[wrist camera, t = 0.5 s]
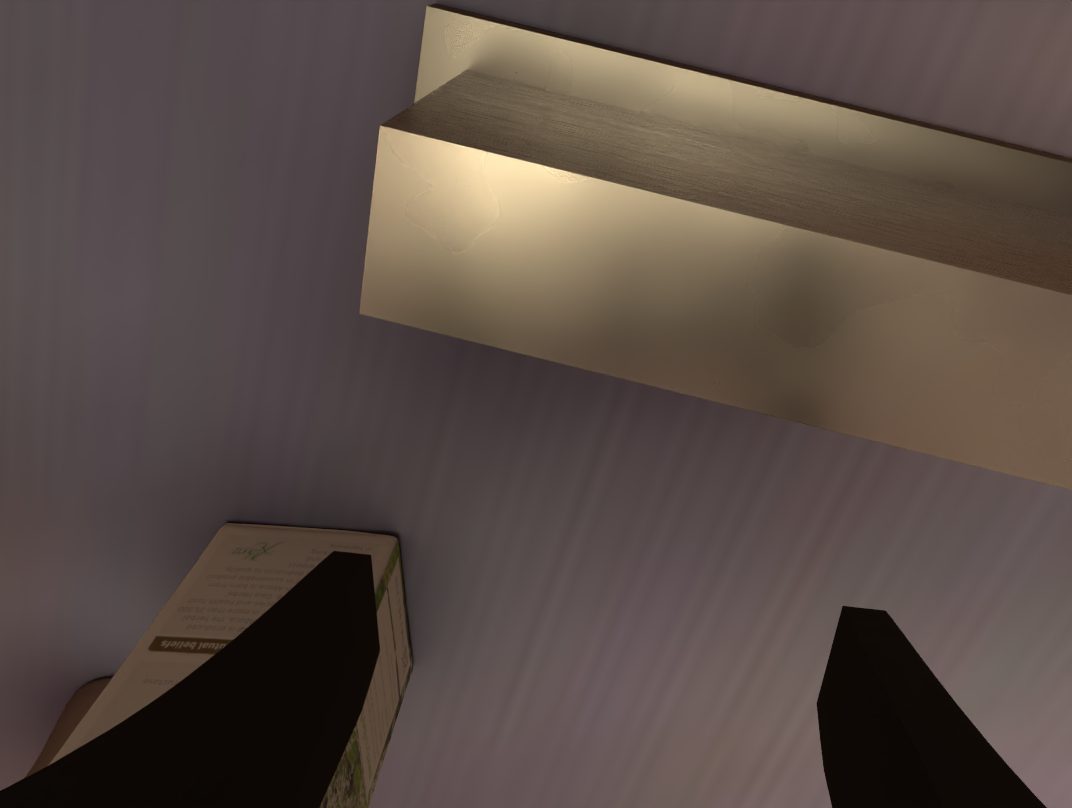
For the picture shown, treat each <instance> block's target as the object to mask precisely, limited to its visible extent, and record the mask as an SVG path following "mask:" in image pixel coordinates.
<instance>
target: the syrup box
mask: <svg viewBox="0 0 1072 808" xmlns="http://www.w3.org/2000/svg"><path fill="white" fill-rule="evenodd" d="M333 551H341V552H350V553H359V554H369V555H371V559H372V569H373V580H374V590H375V601H376V611H377V622H378V632H379V643H380V653H379V656H378V659H377V663H376V666H375V670H374V673H373V677H372V680H371V684H370V687H369V690H368V693H367V696H366V699H365V703H364V706H363V709H362V712H361V714H360V716H359V719H358V721H357V723H356V726H355V728H354V730H353V733H352V735H351V737H350V740H349V742H348V744H347V746H346V749H345V751H344V753H343V756H342V758H341V760H340V762H339V765H338V767H337V769H336V771H335V774H334V776H333V778H332V780H331V783H330V785H329V787H328V789H327V792H326V794H325V796H324V799H323V801H322V803H321V805H320V808H368V807H369V804H370V800H371V797H372V794H373V791H374V788H375V786H376V782H377V779H378V776H379V772H380V769H381V766H382V763H383V760H384V757H385V754H386V751H387V748H388V744H389V741H390V739H391V735H392V732H393V728H394V725H395V722H396V719H397V716H398V713H399V710H400V707H401V704H402V701H403V697H404V694H405V691H406V688H407V685H408V682H409V679H410V675H411V673H412V670H413V664H412V656H411V647H410V639H409V629H408V622H407V613H406V605H405V595H404V587H403V577H402V568H401V556H400V548H399V542H398V539H397V538H396V537H394V536H390V535H382V534H372V533H364V532H355V531H344V530H331V529H317V528H301V527H287V526H270V525H255V524H233V523H226V524H225V525H224V526H222V527H221V528H220V529H219V531H218V532H217V534H216V535H215V536H214V538H213V539H212V541H211V542H210V543H209V545H208V546H207V547H206V549H205V550H204V552H203V553H202V554H201V556H200V557H199V559H198V561H197V562H196V564H195V565H194V566H193V568H192V569H191V570H190V572H189V573H188V574H187V576H186V577H185V578H184V580H183V581H182V583H181V584H180V585H179V587H178V588H177V590H176V591H175V592H174V594H173V595H172V597H171V598H170V599H169V601H168V602H167V603H166V605H165V606H164V608H163V609H162V610H161V612H160V613H159V614H158V616H157V617H156V619H155V620H154V621H153V623H152V624H151V625H150V627H149V628H148V630H147V631H146V632H145V634H144V635H143V636H142V638H141V639H140V641H139V642H138V643H137V645H136V646H135V647H134V649H133V650H132V652H131V653H130V654H129V656H128V657H127V658H126V660H125V661H124V662H123V664H122V665H121V667H120V668H119V669H118V671H117V672H116V674H115V675H114V676H113V678H112V679H111V681H110V682H109V683H108V685H107V686H106V687H105V689H104V690H103V691H102V693H101V694H100V696H99V697H98V698H97V700H96V701H95V702H94V704H93V705H92V706H91V708H90V709H89V711H88V712H87V713H86V715H85V716H84V717H83V719H82V720H81V721H80V723H79V724H78V726H77V727H76V728H75V730H74V731H73V732H72V734H71V735H70V737H69V738H68V739H67V741H66V742H65V744H64V745H63V746H62V748H61V749H60V751H59V752H58V753H57V755H56V756H55V757H54V759H53V760H52V761H51V763H50V764H52V763H54V762H55V761H57V760H59V759H60V758H62V757H64V756H66V755H67V754H69V753H71V752H72V751H74V750H76V749H77V748H79V747H81V746H83V745H84V744H86V743H88V742H89V741H91V740H93V739H94V738H96V737H98V736H100V735H101V734H103V733H105V732H106V731H108V730H110V729H111V728H113V727H115V726H116V725H118V724H119V723H121V722H122V721H124V720H125V719H127V718H128V717H130V716H131V715H133V714H134V713H136V712H137V711H139V710H140V709H142V708H143V707H145V706H146V705H148V704H149V703H151V702H152V701H154V700H155V699H157V698H158V697H159V696H161V695H162V694H164V693H165V692H166V691H168V690H169V689H171V688H172V687H173V686H175V685H176V684H177V683H179V682H180V681H181V680H183V679H184V678H185V677H187V676H188V675H189V674H191V673H192V672H193V671H194V670H196V669H197V668H198V667H199V666H201V665H202V664H203V663H205V662H206V661H207V660H208V659H210V658H211V657H212V656H213V655H215V654H216V653H217V652H219V651H220V650H221V649H222V648H224V647H225V646H226V645H227V644H229V643H230V642H231V641H232V640H233V639H235V638H236V637H237V636H238V635H239V634H240V633H242V632H243V631H244V630H245V629H246V628H247V627H249V626H250V625H251V624H252V623H253V622H254V621H255V620H257V619H258V618H259V617H260V616H261V615H262V614H264V613H265V612H266V611H267V610H268V609H269V608H271V607H272V606H273V605H274V604H275V603H276V602H277V601H278V600H279V599H281V598H282V597H283V596H284V595H285V594H286V593H287V592H288V591H289V590H291V589H292V588H293V587H294V586H295V585H296V584H297V583H298V582H299V581H300V580H302V579H303V578H304V577H305V576H306V575H307V574H308V573H309V572H310V571H311V570H312V569H314V568H315V567H316V566H317V565H318V564H319V563H320V562H321V561H322V560H324V559H325V558H326V557H327V556H328V555H329V554H331V553H332V552H333ZM50 764H49V765H50Z"/></svg>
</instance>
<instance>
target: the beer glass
mask: <svg viewBox="0 0 1072 808" xmlns="http://www.w3.org/2000/svg"><path fill="white" fill-rule="evenodd" d="M111 679H112V678H105V679H99V680H96V681H93V682H90V683H88V684H86V685H84V686H83V687H82V688H80V689H79V690H78V691H77V692H76V693H75V694H74V695H73V696H72V697H71V699H70V700H69V701H68V703H67V704H66V706H65V708H64V710H63V711H62V713H61V715H60V717H59V719H58V721H57V723H56V725H55V727H54V729H53V731H52V733H51V735H50V737H49V738H48V740H47V742H46V744H45V746H44V748H43V750H42V752H41V753H40V755H39V757H38V758H37V760H36V762H35V763H34V765H33V766H32V768H31V769H30V771H29V772H28V773H27V775H26V776H25V778H26V777H28V776H30V775H32V774H34V773H36V772H38V771H39V770H41V769H43V768H45V767H47V766H48V765H49V764H50V763H51V761H52V760H53V759H54V757H55V756H56V755H57V753H58V752H59V751H60V749H61V748H62V746H63V745H64V744H65V742H66V741H67V739H68V738H69V737H70V735H71V734H72V732H73V731H74V730H75V728H76V727H77V726H78V724H79V723H80V721H81V720H82V719H83V717H84V716H85V715H86V713H87V712H88V711H89V709H90V708H91V706H92V705H93V704H94V702H95V701H96V700H97V698H98V697H99V696H100V694H101V693H102V691H103V690H104V689H105V687H106V686H107V685H108V683H109V682H110V681H111Z"/></svg>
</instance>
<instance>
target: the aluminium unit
mask: <svg viewBox="0 0 1072 808" xmlns="http://www.w3.org/2000/svg"><path fill="white" fill-rule="evenodd" d="M359 314H363V315H367V316H371V317H375V318H379V319H383V320H387V321H391V322H395V323H399V324H403V325H407V326H411V327H415V328H419V329H423V330H427V331H431V332H435V333H439V334H444V335H448V336H452V337H456V338H460V339H464V340H468V341H472V342H476V343H480V344H484V345H488V346H492V347H496V348H500V349H504V350H508V351H512V352H516V353H520V354H524V355H528V356H532V357H536V358H540V359H544V360H549V361H553V362H557V363H561V364H565V365H569V366H573V367H577V368H581V369H585V370H589V371H593V372H597V373H601V374H605V375H609V376H613V377H617V378H621V379H625V380H629V381H633V382H637V383H641V384H645V385H649V386H654V387H658V388H662V389H666V390H670V391H674V392H678V393H682V394H686V395H690V396H694V397H698V398H702V399H706V400H710V401H714V402H718V403H722V404H726V405H730V406H734V407H738V408H742V409H746V410H750V411H754V412H759V413H763V414H767V415H771V416H775V417H779V418H783V419H787V420H791V421H795V422H799V423H803V424H807V425H811V426H815V427H819V428H823V429H827V430H831V431H835V432H839V433H843V434H847V435H851V436H855V437H859V438H864V439H868V440H872V441H876V442H880V443H884V444H888V445H892V446H896V447H900V448H904V449H908V450H912V451H916V452H920V453H924V454H928V455H932V456H936V457H940V458H944V459H948V460H952V461H956V462H960V463H964V464H969V465H973V466H977V467H981V468H985V469H989V470H993V471H997V472H1001V473H1005V474H1009V475H1013V476H1017V477H1021V478H1025V479H1029V480H1033V481H1037V482H1041V483H1045V484H1049V485H1053V486H1057V487H1061V488H1065V489H1069V490H1072V159H1071V158H1067V157H1063V156H1059V155H1054V154H1050V153H1046V152H1042V151H1038V150H1034V149H1030V148H1026V147H1022V146H1018V145H1013V144H1009V143H1005V142H1001V141H997V140H993V139H989V138H985V137H981V136H976V135H972V134H968V133H964V132H960V131H956V130H952V129H948V128H944V127H940V126H935V125H931V124H927V123H923V122H919V121H915V120H911V119H907V118H903V117H899V116H894V115H890V114H886V113H882V112H878V111H874V110H870V109H866V108H862V107H858V106H853V105H849V104H845V103H841V102H837V101H833V100H829V99H825V98H821V97H817V96H812V95H808V94H804V93H800V92H796V91H792V90H788V89H784V88H780V87H776V86H771V85H767V84H763V83H759V82H755V81H751V80H747V79H743V78H739V77H735V76H730V75H726V74H722V73H718V72H714V71H710V70H706V69H702V68H698V67H693V66H689V65H685V64H681V63H677V62H673V61H669V60H665V59H661V58H657V57H652V56H648V55H644V54H640V53H636V52H632V51H628V50H624V49H620V48H616V47H611V46H607V45H603V44H599V43H595V42H591V41H587V40H583V39H579V38H575V37H570V36H566V35H562V34H558V33H554V32H550V31H546V30H542V29H538V28H534V27H529V26H525V25H521V24H517V23H513V22H509V21H505V20H501V19H497V18H493V17H488V16H484V15H480V14H476V13H472V12H468V11H464V10H460V9H456V8H451V7H447V6H443V5H439V4H433V5H429V6H427V8H426V15H425V23H424V31H423V39H422V47H421V54H420V62H419V70H418V78H417V85H416V93H415V101H414V104H413V105H411V106H409V107H408V108H406V109H405V110H403V111H402V112H400V113H399V114H397V115H396V116H394V117H392V118H391V119H389V120H388V121H386V122H385V123H383V124H382V125H380V130H379V139H378V148H377V157H376V166H375V175H374V184H373V194H372V203H371V212H370V221H369V230H368V239H367V248H366V257H365V266H364V275H363V284H362V293H361V303H360V312H359Z"/></svg>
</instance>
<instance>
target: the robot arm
mask: <svg viewBox="0 0 1072 808" xmlns="http://www.w3.org/2000/svg"><path fill="white" fill-rule="evenodd" d="M379 653H380V643H379V632H378V622H377V611H376V601H375V590H374V580H373V569H372V559H371V555H369V554H359V553H350V552H341V551H333V552H332V553H331V554H329V555H328V556H327V557H326V558H325V559H324V560H322V561H321V562H320V563H319V564H318V565H317V566H316V567H315V568H314V569H312V570H311V571H310V572H309V573H308V574H307V575H306V576H305V577H304V578H303V579H302V580H300V581H299V582H298V583H297V584H296V585H295V586H294V587H293V588H292V589H291V590H289V591H288V592H287V593H286V594H285V595H284V596H283V597H282V598H281V599H279V600H278V601H277V602H276V603H275V604H274V605H273V606H272V607H271V608H269V609H268V610H267V611H266V612H265V613H264V614H262V615H261V616H260V617H259V618H258V619H257V620H255V621H254V622H253V623H252V624H251V625H250V626H249V627H247V628H246V629H245V630H244V631H243V632H242V633H240V634H239V635H238V636H237V637H236V638H235V639H233V640H232V641H231V642H230V643H229V644H227V645H226V646H225V647H224V648H222V649H221V650H220V651H219V652H217V653H216V654H215V655H213V656H212V657H211V658H210V659H208V660H207V661H206V662H205V663H203V664H202V665H201V666H199V667H198V668H197V669H196V670H194V671H193V672H192V673H191V674H189V675H188V676H187V677H185V678H184V679H183V680H181V681H180V682H179V683H177V684H176V685H175V686H173V687H172V688H171V689H169V690H168V691H166V692H165V693H164V694H162V695H161V696H159V697H158V698H157V699H155V700H154V701H152V702H151V703H149V704H148V705H146V706H145V707H143V708H142V709H140V710H139V711H137V712H136V713H134V714H133V715H131V716H130V717H128V718H127V719H125V720H124V721H122V722H121V723H119V724H118V725H116V726H115V727H113V728H111V729H110V730H108V731H106V732H105V733H103V734H101V735H100V736H98V737H96V738H94V739H93V740H91V741H89V742H88V743H86V744H84V745H83V746H81V747H79V748H77V749H76V750H74V751H72V752H71V753H69V754H67V755H66V756H64V757H62V758H60V759H59V760H57V761H55V762H54V763H52V764H50V765H48V766H47V767H45V768H43V769H41V770H39V771H38V772H36V773H34V774H32V775H30V776H28V777H26V778H24V779H22V780H20V781H19V782H17V783H15V784H13V785H11V786H9V787H7V788H5V789H3V790H1V791H0V808H320V805H321V803H322V801H323V799H324V796H325V794H326V792H327V789H328V787H329V785H330V783H331V780H332V778H333V776H334V774H335V771H336V769H337V767H338V765H339V762H340V760H341V758H342V756H343V753H344V751H345V749H346V746H347V744H348V742H349V740H350V737H351V735H352V733H353V730H354V728H355V726H356V723H357V721H358V719H359V716H360V714H361V712H362V709H363V706H364V703H365V699H366V696H367V693H368V690H369V687H370V684H371V680H372V677H373V673H374V670H375V666H376V663H377V659H378V656H379ZM817 711H818V721H819V731H820V741H821V749H822V757H823V766H824V772H825V777H826V781H827V786H828V790H829V795H830V799H831V804H832V808H1046V806H1045V805H1044V804H1043V803H1042V802H1041V801H1040V800H1039V799H1038V798H1037V797H1036V796H1035V795H1034V794H1033V793H1032V792H1031V791H1030V789H1029V788H1028V787H1027V786H1026V785H1025V784H1024V783H1023V782H1022V780H1021V779H1020V778H1019V777H1018V776H1017V775H1016V774H1015V773H1014V772H1013V770H1012V769H1011V768H1010V767H1009V766H1008V765H1007V764H1006V763H1005V762H1004V760H1003V759H1002V758H1001V757H1000V756H999V754H998V753H997V752H996V751H995V750H994V749H993V747H992V746H991V745H990V744H989V743H988V742H987V740H986V739H985V738H984V737H983V736H982V734H981V733H980V732H979V731H978V729H977V728H976V727H975V726H974V725H973V723H972V722H971V721H970V720H969V718H968V717H967V716H966V715H965V713H964V712H963V711H962V710H961V709H960V707H959V706H958V705H957V704H956V702H955V701H954V700H953V699H952V697H951V696H950V695H949V693H948V692H947V691H946V690H945V688H944V687H943V686H942V684H941V683H940V682H939V681H938V679H937V678H936V677H935V675H934V674H933V673H932V671H931V670H930V669H929V667H928V666H927V665H926V664H925V662H924V661H923V660H922V658H921V657H920V656H919V654H918V653H917V652H916V650H915V649H914V647H913V646H912V645H911V643H910V642H909V641H908V639H907V638H906V637H905V635H904V634H903V633H902V631H901V630H900V629H899V627H898V626H897V625H896V623H895V622H894V621H893V619H892V618H891V617H890V616H889V614H888V613H887V612H886V611H884V610H874V609H865V608H856V607H847V606H843V607H842V610H841V614H840V618H839V622H838V625H837V629H836V633H835V637H834V640H833V644H832V648H831V652H830V655H829V659H828V663H827V667H826V671H825V674H824V678H823V682H822V686H821V689H820V693H819V697H818V701H817Z"/></svg>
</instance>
